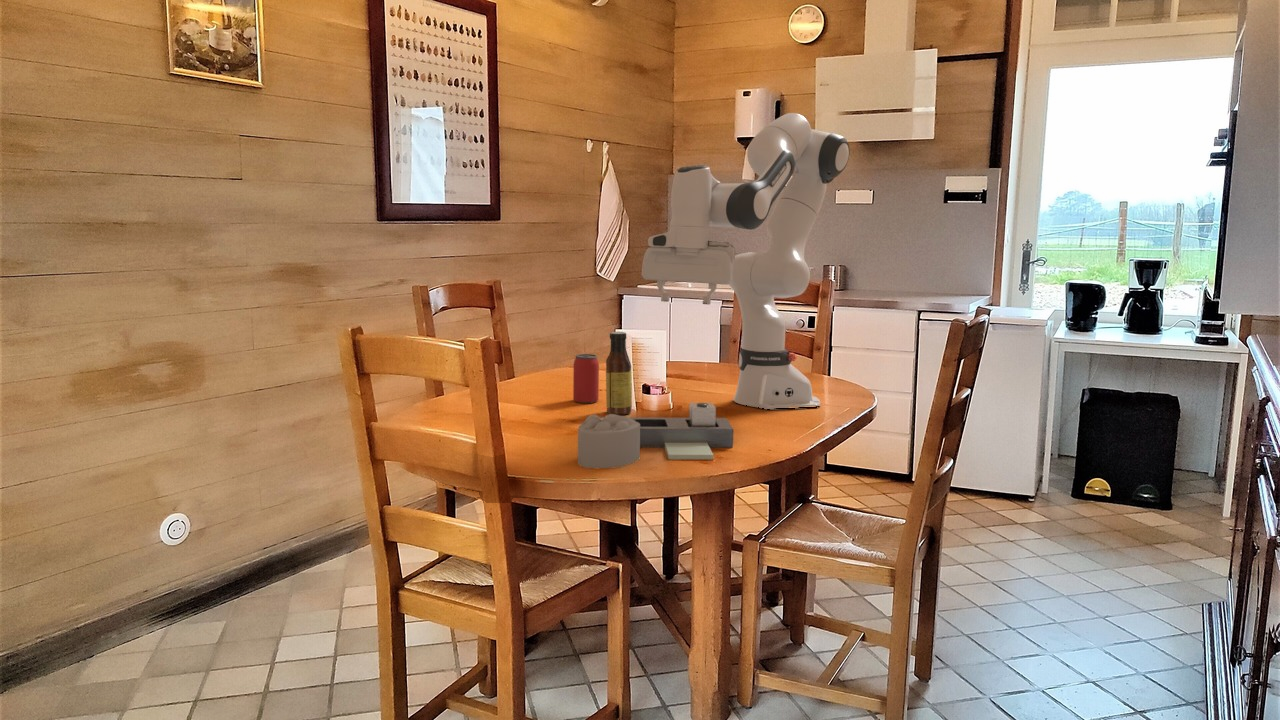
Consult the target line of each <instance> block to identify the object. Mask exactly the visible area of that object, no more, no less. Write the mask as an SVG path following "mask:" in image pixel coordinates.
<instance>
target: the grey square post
mask: <svg viewBox="0 0 1280 720" xmlns="http://www.w3.org/2000/svg"><path fill="white" fill-rule="evenodd" d="M688 411H689V414H688V418H689V427H715V419H716V418H717V408H716V406H715V404H714V403H713V402H689V410H688Z"/></svg>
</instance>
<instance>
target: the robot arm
mask: <svg viewBox="0 0 1280 720" xmlns="http://www.w3.org/2000/svg"><path fill="white" fill-rule="evenodd" d="M849 145H850V144H849V142H848V140H847V139H846V138H845V137H844V136H842V135H840V134H837V133H834V132H831V133H830V132H828V131H827V132H826V131H822V130H818V129H813V128H812V127H811V124H810V121H808V120H807V118H805V117H804V116H803V115H801V114H799V113H797V112H788V113H785V114H783V115H781V116H779V117H778V118H776V119H774V120H772V121H771V122H769V124H768V125H766V126H765V127H764V128H762V130H760V131H759V132H758V133H757V134H756V135H755V136H754V137H753V138H752V139H751V141H750V143H749V145H748V147H747V151H746V152H747V154H746V155H747V161H748V163H749V164H748V165H749V166H750V168H751V169H752V171H753V172H754V173H755V174H756V175H757V176H758V177H757V179H756V180H754V181H750V182H741V183H738V182H737V183H736V182H735V183H730V182H729V183H723V182H721V181H719V180H718V179H716V178H715V177H714V176H713V174H712V172H711V168H710V166H707V165H705V164H704V165H702V164H701V165H699V164H697V165H695V164H694V165H685V166H681V167H679V168H678V169H677V170H676V171H675V173H674V177H673V180H672V187H671V196H670V208H671V214H672V215H671V218H670V219H671V220H670V222H669V230H668V231H667V232H662V233H659V234H655V235H651V236H649V237H648V239H647V245H648V246H649V247H648V248H647V249H646V250H645V251H644V254H643V260H642V266H641V276H642V278H643V280H645V281H656V286H657V289H658V291H659V293H660V294H661V295H660V301H661V302H669V301H670V293H669V292H668V293H667V291H666V290H665V288H664V286H666V282H678V283H694V284H707V285H708V289H709V291H708V293H707V295H703V296H702V305H708V306H709V305H711V302H712V296H713V294H715V292H716V290H717V285H726V286H727V285H728V286H730V288H731V289H732V291H733V292H734V294H735V296H736V299H737V302H738V305H739V309H740V314H741V320H742V321H741V322H742V323H741V325H742V326H741V327H742V328H741V329H742V331H741V332H742V335H741V337H742V338H741V339H742V340H741V347H740V349H739V356H738V357H739V358H738V359H739V360H738V366H739V369H740V370H739V374H738V375H739V377H738V383H737V387H736V391H735V394H734V398H733V401H734V402H735V403H737V404H739V405H743V406H746V405H747V407H754V408H758V407H759V409H762V408H764V409H763V410H767V409H770V410H775V409H774V408H789V407H805V406H818V405H820V403H821V400H820V399H819V397H816V396H815V395H813V389H812V384H811V381H810V380H809V378H808V377H807V376H805V375H804V374H803V373H802V372H801V371H800V370H799V369H797V368H796V367H795V366H794V365H793V364H791V363H792V362H796V360H797V358H798V356H797V355H796V353H794V352H790V351H788V350H787V349H786V348H785V344H786V320H785V317H784V315H782V313H781V312H780V311H779V309H778V308H777V306H776V302H775V298H777V299H778V298H779V299H787V298H793V297H794V298H795V297H798V296H800V295H802V294H804V293H805V292H806V290H807V288H808V287H809V283H810V280H811V273H810V272H811V271H810V268H809V265H808V264H807V262H806V260H805V250H806V249H805V248H806V244H807V241H808V238H809V236H810V234H811V231H812V229H813V227H814V224H815V222H816V219H817V218H818V216H819V213H820V212H821V211H820V210H821V209H822V206H823V202H824V200H825V196H826V192H827V187H828V185H827V184H829V183H831V182H833V181H834V179H835V178H837V177H838V176H840V174H841V173H843V171H844V170H845V169H846V167H847V165H848V162H849V160H850V151H851V150H850V146H849ZM778 197H779V198H778ZM776 199H777V201H776ZM775 201H776V204H775V206H774V208H773V211H772V212H771V214H770V216H769V213H770V210H771V207H772V205H773V204H774V203H775ZM768 216H769V218H768V220H767V222H766V227H765V229H766V233H767V236H768V237H769V238H770V244H769V245H770V246H769V248H768V250H767V251H766V252H754V251H748V252H742V253H739V254H737V255H736V248H735V247H734V245H733V244H730V242H727V241H715V240H713V241H712V240H710V228H711V227H719V228H737V229H743V230H751V231H752V230H756V229H757V228H759V227H760V226H761V225H762V224H763V223H764V222H765V220H766V219H767V217H768ZM820 406H821V405H820Z"/></svg>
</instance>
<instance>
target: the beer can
mask: <svg viewBox="0 0 1280 720" xmlns="http://www.w3.org/2000/svg"><path fill="white" fill-rule="evenodd" d="M573 361H574V362H573V377H572V378H573V379H572V380H573V382H572V383H573V385H572V388H573V389H572V390H573V394H572V397H573V398H572V400H573V401H574V402H576V403H579V404H594V403H596V402H598V401H599V395H600V394H599V390H600V389H599V387H600V384H599V383H600V382H599V381H600V378H599V377H600V370H599V369H600V364H599V360H598V356H597V354H591V353H580V354H576V355H575V359H574V360H573Z"/></svg>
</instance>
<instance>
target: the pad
mask: <svg viewBox="0 0 1280 720" xmlns="http://www.w3.org/2000/svg"><path fill="white" fill-rule="evenodd" d="M663 448H664V451H665V452H666V456H667V459H668V460H714V453H713V451H712V450H711V447H709V445H708V444H707V443H665V446H664V447H663Z"/></svg>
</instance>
